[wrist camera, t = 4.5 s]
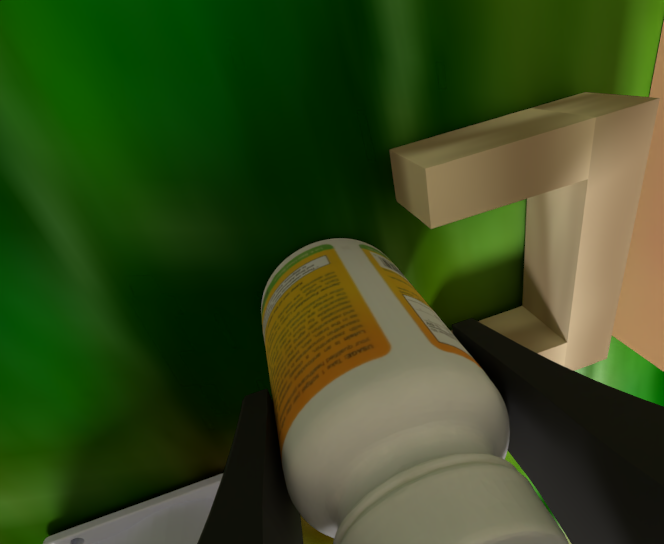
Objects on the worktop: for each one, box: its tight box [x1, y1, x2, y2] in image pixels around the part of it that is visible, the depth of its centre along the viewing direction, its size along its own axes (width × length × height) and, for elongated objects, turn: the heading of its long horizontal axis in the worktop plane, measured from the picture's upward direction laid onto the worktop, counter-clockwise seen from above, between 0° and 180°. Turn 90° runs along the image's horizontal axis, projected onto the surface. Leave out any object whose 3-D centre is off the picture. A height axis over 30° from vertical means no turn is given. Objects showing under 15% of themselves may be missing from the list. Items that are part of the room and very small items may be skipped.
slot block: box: [389, 92, 660, 371], centre depth 14 cm, size 7×10×3 cm
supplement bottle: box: [261, 238, 569, 544], centre depth 11 cm, size 5×5×10 cm
